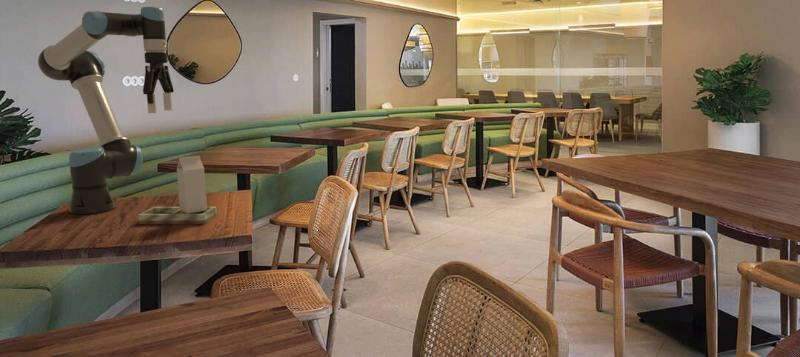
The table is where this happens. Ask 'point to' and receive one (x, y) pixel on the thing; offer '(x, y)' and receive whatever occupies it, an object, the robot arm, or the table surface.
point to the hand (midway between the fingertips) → (160, 111)
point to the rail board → (175, 216)
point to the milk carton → (191, 185)
